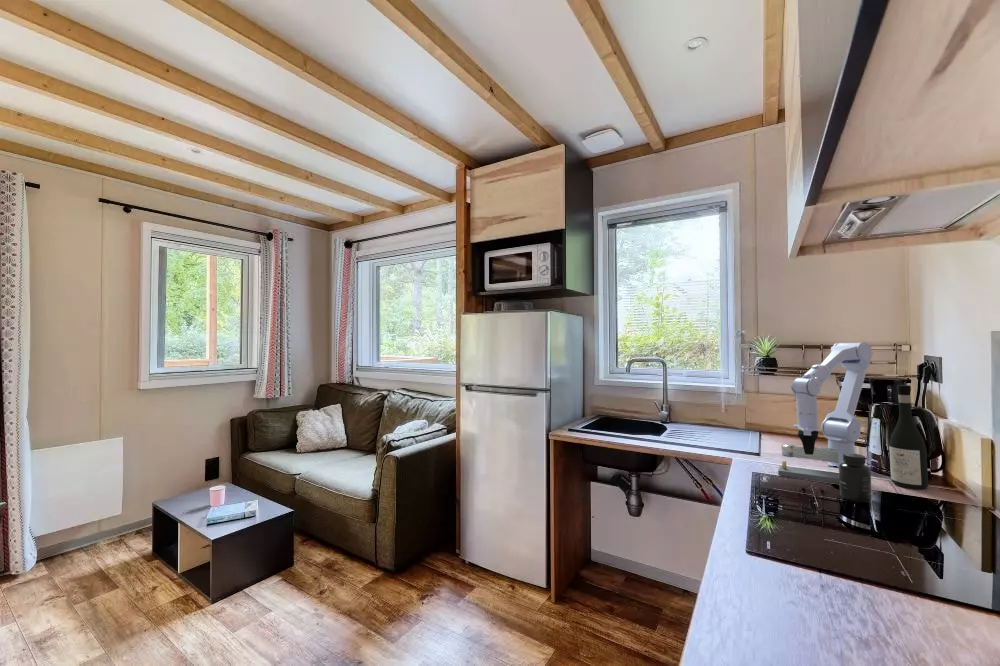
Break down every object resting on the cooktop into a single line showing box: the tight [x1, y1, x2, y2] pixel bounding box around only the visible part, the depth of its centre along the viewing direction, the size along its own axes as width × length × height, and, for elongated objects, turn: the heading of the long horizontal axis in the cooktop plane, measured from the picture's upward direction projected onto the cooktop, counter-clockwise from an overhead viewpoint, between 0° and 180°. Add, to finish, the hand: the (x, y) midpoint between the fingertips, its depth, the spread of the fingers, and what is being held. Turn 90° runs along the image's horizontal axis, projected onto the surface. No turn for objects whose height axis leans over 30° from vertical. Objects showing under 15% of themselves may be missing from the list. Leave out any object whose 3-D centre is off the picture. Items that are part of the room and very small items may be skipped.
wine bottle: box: [888, 384, 929, 490], centre depth 127 cm, size 8×8×30 cm
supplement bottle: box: [838, 453, 873, 503], centre depth 118 cm, size 7×7×12 cm
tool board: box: [777, 460, 839, 484], centre depth 136 cm, size 7×22×4 cm, turn 52°
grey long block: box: [781, 443, 839, 463], centre depth 145 cm, size 5×16×4 cm, turn 52°
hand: (809, 453), depth 145 cm, fingers closed on grey long block, 3 cm apart
